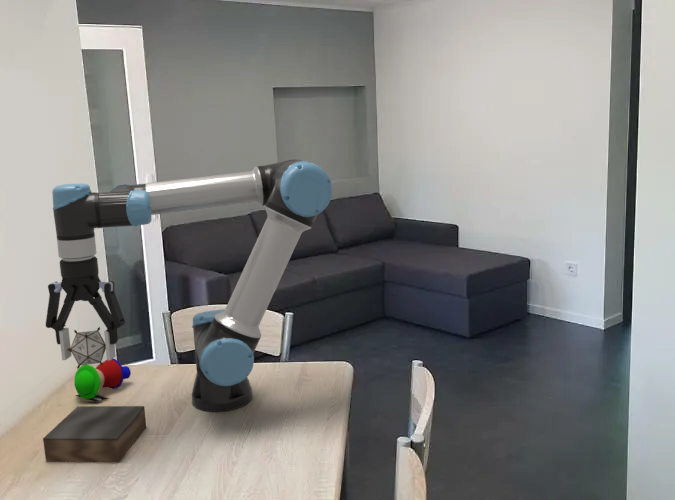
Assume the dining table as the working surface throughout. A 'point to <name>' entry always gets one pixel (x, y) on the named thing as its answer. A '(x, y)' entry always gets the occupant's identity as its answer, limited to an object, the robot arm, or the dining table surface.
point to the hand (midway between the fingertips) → (89, 358)
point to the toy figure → (99, 379)
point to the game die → (88, 347)
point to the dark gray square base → (95, 434)
